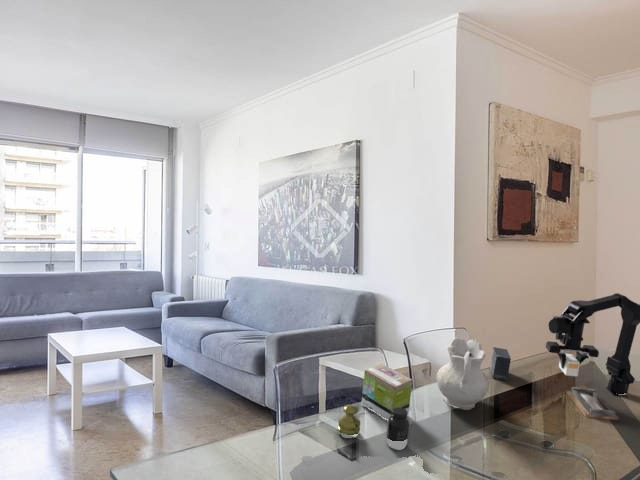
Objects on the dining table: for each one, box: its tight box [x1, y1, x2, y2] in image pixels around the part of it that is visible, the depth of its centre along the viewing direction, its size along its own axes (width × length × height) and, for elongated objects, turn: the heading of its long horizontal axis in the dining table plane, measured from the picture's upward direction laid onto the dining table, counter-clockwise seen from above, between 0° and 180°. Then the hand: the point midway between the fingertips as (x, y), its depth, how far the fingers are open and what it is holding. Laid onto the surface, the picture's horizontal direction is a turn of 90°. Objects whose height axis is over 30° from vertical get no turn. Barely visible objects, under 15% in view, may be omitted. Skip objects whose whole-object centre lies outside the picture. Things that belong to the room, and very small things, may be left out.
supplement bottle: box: [386, 407, 410, 441], centre depth 159 cm, size 7×7×12 cm
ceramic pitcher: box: [436, 336, 490, 407], centre depth 187 cm, size 22×20×25 cm
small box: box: [489, 347, 512, 381], centre depth 217 cm, size 11×6×10 cm, turn 168°
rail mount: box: [566, 386, 620, 421], centre depth 195 cm, size 12×18×3 cm, turn 175°
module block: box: [558, 353, 581, 377], centre depth 202 cm, size 4×8×6 cm, turn 174°
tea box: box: [361, 363, 413, 419], centre depth 179 cm, size 15×10×15 cm, turn 42°
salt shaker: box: [337, 404, 362, 435], centre depth 164 cm, size 7×7×10 cm
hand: (568, 368), depth 202 cm, fingers closed on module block, 4 cm apart
